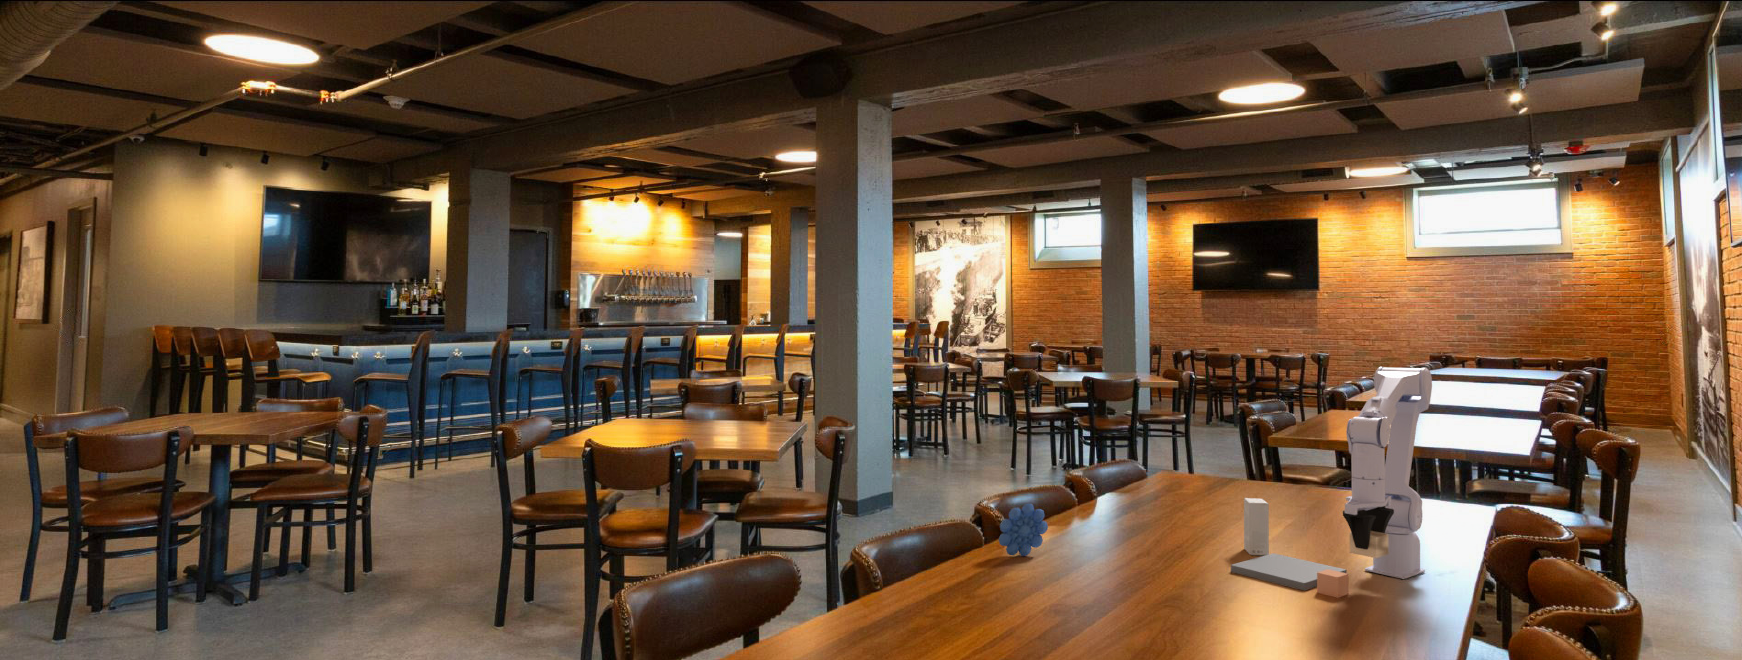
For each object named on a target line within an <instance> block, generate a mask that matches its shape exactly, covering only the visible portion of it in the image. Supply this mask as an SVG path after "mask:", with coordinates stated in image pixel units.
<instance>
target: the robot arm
mask: <svg viewBox="0 0 1742 660" xmlns="http://www.w3.org/2000/svg"><path fill="white" fill-rule="evenodd" d="M1373 385H1374V390H1375V392H1376V395H1375V396H1372V397H1371V398H1369V399H1368V400H1366V402H1365V404H1364V405H1363V408H1362V409H1361V410H1360V412H1359V413H1358V415H1357V416H1354V417H1352V418H1350V419H1349V420H1348V421H1347V424H1346V431H1345V432H1346V439H1347V440H1346V441H1347V443H1348V453H1349V454H1350V457H1351V496H1346V497H1345V500H1346V503H1344V510H1342V516H1343V518H1344V519H1345V521H1346V523H1347V525H1348V528H1349V530H1350V532H1351V533H1352V536H1353V540H1354V544H1355V547H1356V548H1361V549H1368V547H1369V542H1370V533H1371V531H1374V532H1380V533H1385V534H1388V555H1385V556H1381V557H1378V558H1373V557H1372V558H1373V560H1372V562H1373V563H1372V565H1371V566H1367V567H1364V571H1366V572H1370V573H1374V574H1380V575H1384V576H1388V577H1392V578H1397V579H1402V580H1406V579H1409V578H1411V577H1414V576H1417V575H1420V574H1422V573H1425V572H1426V569H1424V568H1421V540H1420V538H1419V536H1418V534H1417V533H1416V532H1418V530H1420V529H1421V527H1422V523H1423V500H1422V498H1421V496H1420V494H1419V493H1418V492H1417V491H1416V490H1414V489H1413V487H1410V486H1409V485H1410V477H1411V471H1412V470H1411V469H1412V463H1413V455H1414V447H1415V439H1416V435H1417V434H1416V433H1417V432H1416V431H1417V425H1418V422H1419V418H1420V415H1421V413H1422V412H1424V411H1427V410H1429V406H1430V404H1431V397H1432V392H1433V391H1432V389H1433V378H1432V373H1431V371H1430V370H1429V369H1428V368H1427V367H1421V368H1419V367H1416V368H1415V367H1384V366H1379V367H1378V368H1377V369H1376V370H1375V373H1374V378H1373ZM1386 448H1387V450H1386V455H1385V449H1386ZM1385 456H1386V457H1385Z"/></svg>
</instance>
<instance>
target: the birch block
mask: <svg viewBox="0 0 1742 660" xmlns="http://www.w3.org/2000/svg"><path fill="white" fill-rule="evenodd" d="M1349 554H1354V555H1358V556H1359V555H1360V556H1364V557H1370V558H1378V557H1381V556H1385V555H1388V534H1385V533H1380V532H1374V531H1371V533H1370V542H1369V547H1368V549H1361V548H1356V547H1355V544H1354V540H1353V536H1352V533H1351V531H1350V532H1349Z"/></svg>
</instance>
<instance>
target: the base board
mask: <svg viewBox="0 0 1742 660" xmlns="http://www.w3.org/2000/svg"><path fill="white" fill-rule="evenodd" d="M1327 569H1329V570H1334V571H1338V572H1342V573H1347V574H1348V571H1347V569H1346V568H1341V567H1336V566H1331V565H1328V564H1322V563H1318V562H1315V561H1314V562H1313V561H1309V560H1306V559H1300V558H1295V557H1292V556H1288V555H1287V556H1286V555H1282V554H1279V553H1274V552H1273V553H1269V555H1261V556H1259V557H1254V558H1251V559H1248V560H1244V561H1241V562H1236V563H1233V564H1230V572H1231V573H1233V574H1238V575H1242V576H1246V577H1249V578H1253V579H1256V580H1257V579H1258V580H1261V581H1266V582H1268V583H1273V584H1277V585H1280V586H1285V587H1289V588H1293V589H1297V590H1301V591H1307V590H1310V589H1314V588H1317V572H1320V571H1324V570H1327Z"/></svg>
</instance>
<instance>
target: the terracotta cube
mask: <svg viewBox="0 0 1742 660" xmlns="http://www.w3.org/2000/svg"><path fill="white" fill-rule="evenodd" d="M1349 590H1350V589H1349V573H1348V572H1347V573H1342V572H1338V571H1334V570H1329V569H1327V570H1324V571H1320V572H1317V587H1316V591H1317V592H1316V593H1318V594H1322V595H1325V596H1330V597H1334V598H1341V597H1345V596H1347V595H1349V593H1350V591H1349Z"/></svg>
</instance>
